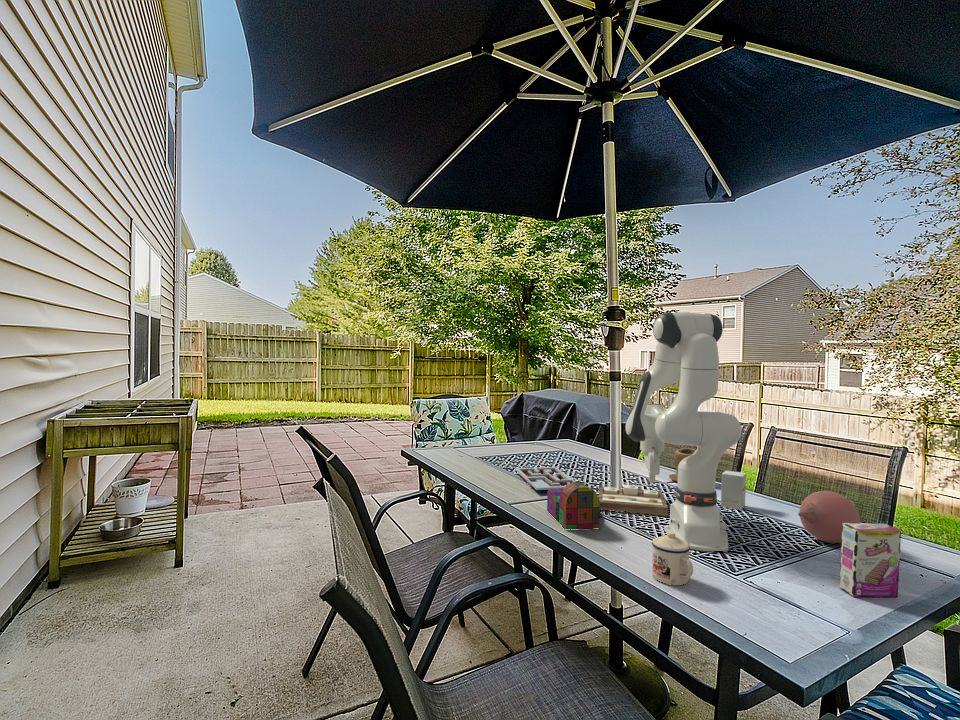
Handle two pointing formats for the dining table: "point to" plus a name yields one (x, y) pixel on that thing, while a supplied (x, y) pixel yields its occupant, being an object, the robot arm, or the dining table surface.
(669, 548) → the teacup with lid
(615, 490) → the left button
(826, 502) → the red onion
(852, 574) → the candy bar box
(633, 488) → the middle button
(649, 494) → the right button
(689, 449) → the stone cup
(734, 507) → the supplement box
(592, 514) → the block puzzle
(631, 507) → the button board
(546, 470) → the maze game
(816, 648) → the dining table surface
